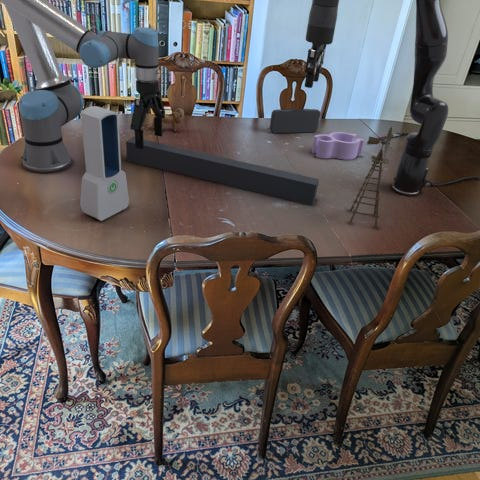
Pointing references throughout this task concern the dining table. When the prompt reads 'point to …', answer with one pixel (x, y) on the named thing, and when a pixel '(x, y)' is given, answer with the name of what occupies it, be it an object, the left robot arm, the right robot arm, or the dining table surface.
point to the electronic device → (102, 165)
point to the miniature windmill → (377, 160)
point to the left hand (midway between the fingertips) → (149, 141)
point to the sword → (391, 136)
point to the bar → (224, 171)
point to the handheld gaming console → (294, 120)
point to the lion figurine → (172, 118)
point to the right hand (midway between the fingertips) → (311, 84)
